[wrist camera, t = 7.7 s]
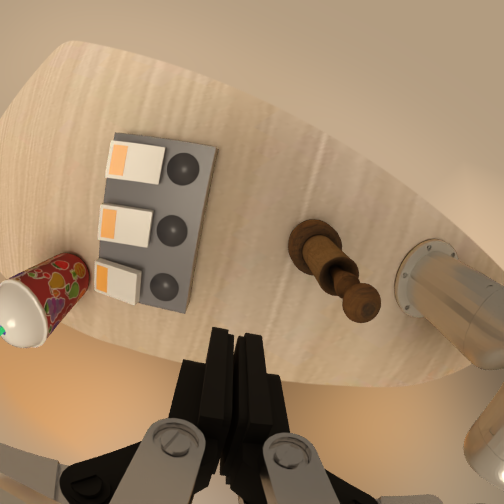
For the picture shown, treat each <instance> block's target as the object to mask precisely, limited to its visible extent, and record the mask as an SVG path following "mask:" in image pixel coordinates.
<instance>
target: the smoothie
mask: <svg viewBox="0 0 504 504" xmlns="http://www.w3.org/2000/svg"><path fill="white" fill-rule="evenodd" d="M88 281H89V273H88V269H87V267H86V265H85V263H84V262H83V261H82V260H81V259H80V258H79V257H77V256H76V255H72V254H68V253H62V254H59V255H57V256H55V257H52V258H50V259H48V260H46V261H44V262H42V263H40V264H37V265H35V266H33V267H31V268H29V269H27V270H25V271H23V272H21V273H19V274H17V275H15V276H13V277H11V278H9V279H6V280H4V281H3V282H1V283H0V336H1V337H2V338H3V339H4V340H5V341H6V342H7V343H9V344H11V345H12V346H15V347H19V348H30V347H39V346H41V345H43V343H44V342H45V341H46V339H47V338H48V337H49V335H50V334H51V333H52V332H53V330H54V329H55V328H56V326H57V325H58V324H59V323H60V322H61V320H62V319H63V318H64V317H65V316H66V314H67V313H68V312H69V311H70V310H71V309H72V307H73V306H74V305H75V304H76V303H77V302H78V300H79V299H80V298H81V297H82V296H83V295H84V293H85V292H86V291H87V288H88Z"/></svg>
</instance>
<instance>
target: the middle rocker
mask: <svg viewBox="0 0 504 504" xmlns="http://www.w3.org/2000/svg"><path fill="white" fill-rule="evenodd" d="M153 212H154V210H149V209H142V208H136V207H130V206H123V205H116V204H110V203H102V204H101V205H100V215H99V226H98V239H97V240H103V241H109V242H116V243H122V244H128V245H134V246H140V247H146V248H148V245H149V240H150V233H151V225H152V218H153Z"/></svg>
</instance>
